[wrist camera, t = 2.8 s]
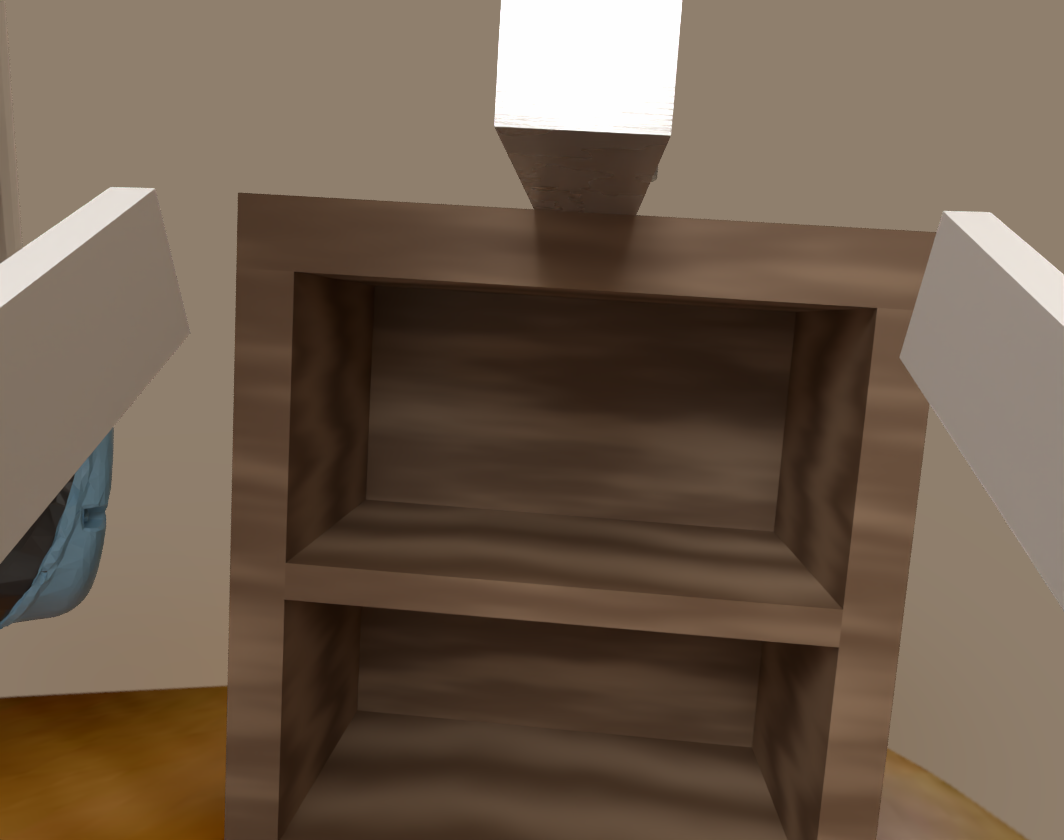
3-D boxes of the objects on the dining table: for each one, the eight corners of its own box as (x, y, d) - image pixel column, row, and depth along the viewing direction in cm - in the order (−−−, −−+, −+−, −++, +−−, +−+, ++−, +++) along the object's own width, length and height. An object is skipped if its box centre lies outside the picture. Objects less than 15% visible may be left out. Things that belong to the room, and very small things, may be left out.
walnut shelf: (862, 948, 35) (950, 233, 32) (223, 880, 37) (238, 192, 34) (785, 772, 49) (840, 260, 46) (323, 728, 51) (340, 230, 47)
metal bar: (738, 138, 19) (785, -380, 17) (429, 122, 19) (453, -385, 18) (646, 251, 48) (661, 63, 47) (526, 244, 49) (538, 58, 47)
